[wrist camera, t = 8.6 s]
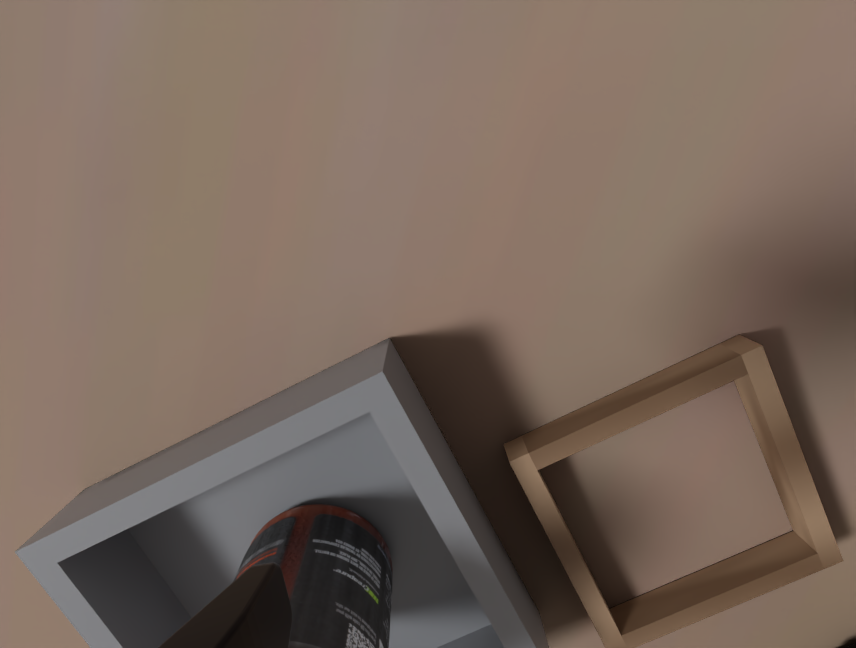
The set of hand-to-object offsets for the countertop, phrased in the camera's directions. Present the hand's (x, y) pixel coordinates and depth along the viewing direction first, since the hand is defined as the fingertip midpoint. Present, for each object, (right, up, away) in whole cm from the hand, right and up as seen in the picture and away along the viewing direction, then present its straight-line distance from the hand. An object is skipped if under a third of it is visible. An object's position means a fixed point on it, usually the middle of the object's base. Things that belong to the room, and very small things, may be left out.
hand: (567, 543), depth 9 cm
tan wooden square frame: (+8, -4, +14) cm, 17 cm away
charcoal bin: (-7, -6, +15) cm, 17 cm away
